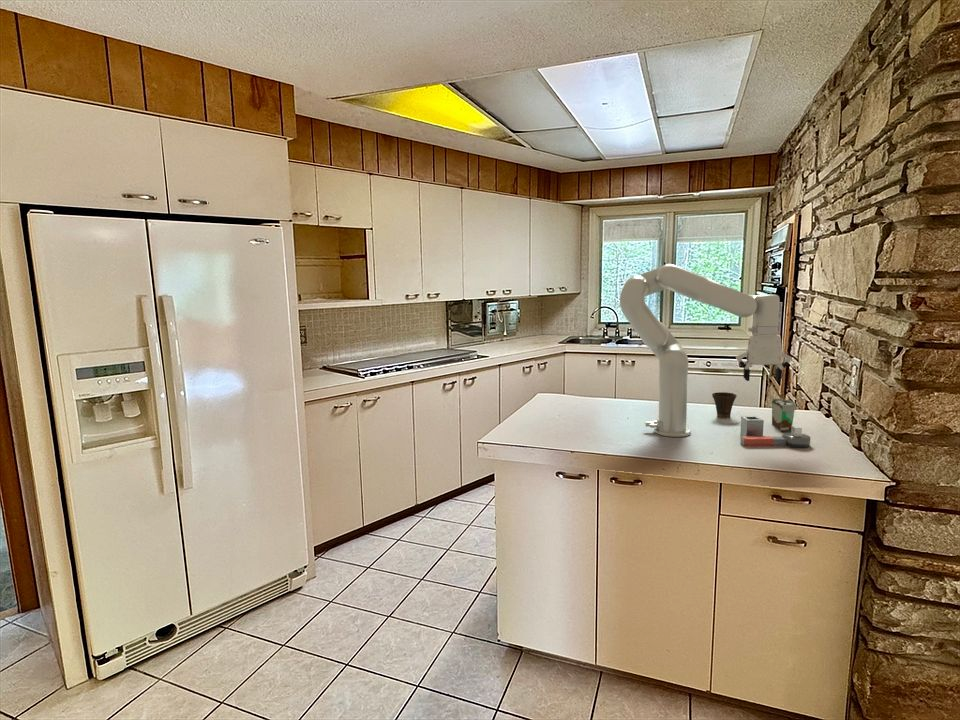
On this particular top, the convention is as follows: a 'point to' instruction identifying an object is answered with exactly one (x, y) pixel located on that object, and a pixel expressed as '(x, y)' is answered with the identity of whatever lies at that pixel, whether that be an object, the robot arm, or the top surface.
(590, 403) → the top surface
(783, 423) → the food container
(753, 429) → the square aluminium tube
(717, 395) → the cup
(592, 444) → the top surface
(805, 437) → the ratchet
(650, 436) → the top surface
